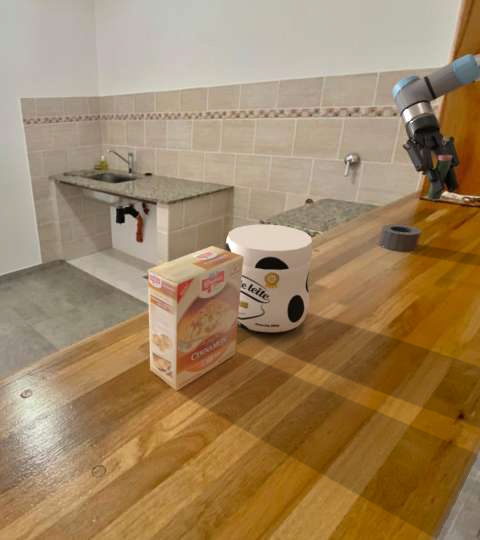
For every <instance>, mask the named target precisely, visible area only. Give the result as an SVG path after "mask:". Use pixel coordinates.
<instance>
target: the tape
mask: <svg viewBox="0 0 480 540" xmlns="http://www.w3.org/2000/svg"><path fill="white" fill-rule="evenodd" d="M421 235H422V230H421V229H419V228H417V227H415V226H411V225H407V224H406V225H405V224H386V225H383V226H381V230H380V235H379V239H378V246H380V247H381V248H383V249H386V250H390V251H396V252H413V251H415V250H417V248H418V245H419V241H420V237H421Z"/></svg>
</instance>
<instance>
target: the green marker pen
mask: <svg viewBox="0 0 480 540" xmlns="http://www.w3.org/2000/svg"><path fill="white" fill-rule="evenodd" d="M451 159H452V155H439V156H438V160H437V159H436V163H435V166H434V168H438V171H439V173H440V176H441V179H442V181H443V184H444V185H446V184H445V180H446V177H447V173H448V170H449V166H450V163H451ZM443 190H444V189H443ZM443 190H442V191H441V192H439V193H436V194H435V191H434V189H433V186H432V183H431V182H430V187H429V190H428V194H427V199H429V200H440V199H441V197H442V194H443Z"/></svg>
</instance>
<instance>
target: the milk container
mask: <svg viewBox="0 0 480 540" xmlns="http://www.w3.org/2000/svg"><path fill="white" fill-rule="evenodd" d="M224 250H226V251H230V252H233V253H236V254H238V255H241V256H243V257H244V258H243V267H242V278H241V290H240V302H239V313H238V324H237V328H240V329H242V330H245V331H249V332H253V333H256V334H270V335H274V334H280V333H287V332H289V331H292V330H295V329H297V328H298V327H299V326H300V325H301V324H302V323H303V322H304V321H305V318H306V316H307V314H308V311H309V307H310V292H309V286H308V282H309V281H308V279H309V273H310V269H311V265H312V260H311V259H312V255H313V241H312V236H311V235H309V234H308V233H307V232H305V231H303V230H300V229H297V228H295V227H290V226H285V225H277V224H247V225H243V226H238V227H235V228H233V229H232V230H229V232H228V234H227V237H226V242H225V249H224Z"/></svg>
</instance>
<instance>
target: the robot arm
mask: <svg viewBox="0 0 480 540" xmlns="http://www.w3.org/2000/svg"><path fill="white" fill-rule="evenodd" d="M476 82H480V53H478V54H475V55H473V54H472V53H469V54H466V55H464V56H461V57H459V58H457V59H455V60H453V61H451V62H450V63H448V64H446V65H444V66H442V67H440V68H438V69H436V70H435V71H433V72H432V73H429V74H428V75H426V76H423V77H420V76H419V75H410V76H406V77H404V78H402V79H400V80H398V82H396V83H395V84H394V85H393V88H392V92H391V93H392V96H393V102H394V104H395V106H396V108H397V111H398V113H399V116H400V119H401V121H402V124H403V126H404V129H405V132H406V135H407V138H408V139H407V140H406V141H405V142H404V143H403V144H402V148H403V149H404V151H406V153H407V155H408V156H409V158H410V161H411V163H412V166H413V167H414V169H415V171H416V172H418V173H420V172H421V175H422V176H426V178H427V181H428V182H429V183H430V184H431V183H432V186H433V189H434V191H435V194H436V193H439V192H441V191H442V190H445V189H446V190H447V192H448V193H449V194H452V193H453V192H455V191H456V190H457V189H459V188H460V186H459V183H458V181H457V179H458V178H457V174H456V171H455V169H456V168H457V167H459V166H460V165H461V162H460V159H459V156H458V153H457V150H456V146H455V144H454V143H455V137H454V136H449V137H446V136H445V137H444V134H442V133H441V131H440V129H441V125H440V122H439V120H438V117H437V116H436V112H435V110H434V108H433V105H432V103H431V102H433V101H435V100H437V99H439V98H441V97H443V96H445V95H447V94H449V93H451V92H454V91H456V90H457V89H461V88H462V87H464V86H468V85H470V84H471V85H472V84H474V83H476ZM432 155H433V156H434V158H435V160H436V161H437V160H438V156H439V155H452V159H451V163H450V166H449V170H448V173H447V177H446V180H445V184H443V181H442V179H441V176H440V173H439V171H438V168H435V166H434V161H433V157H432ZM442 192H443V191H442Z"/></svg>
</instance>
